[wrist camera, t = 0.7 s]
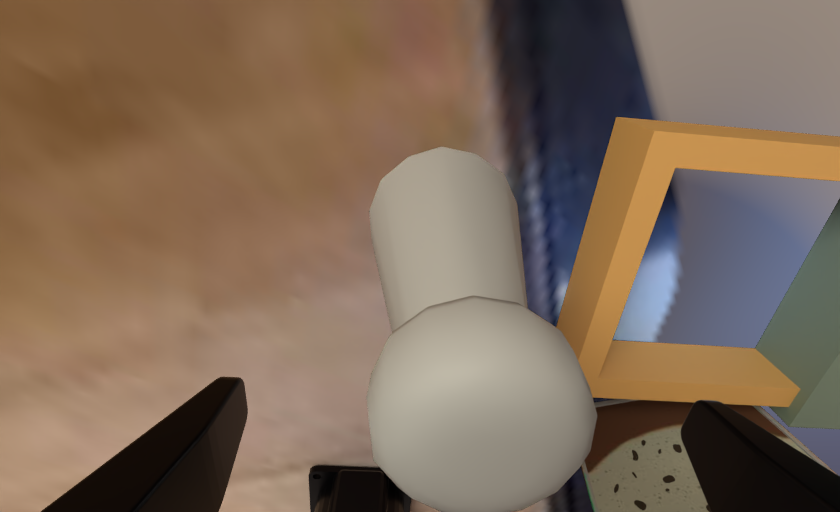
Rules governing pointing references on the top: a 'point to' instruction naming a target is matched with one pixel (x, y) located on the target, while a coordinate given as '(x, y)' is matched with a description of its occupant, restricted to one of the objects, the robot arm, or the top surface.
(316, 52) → the top surface
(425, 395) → the salt shaker
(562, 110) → the top surface
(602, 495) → the food container
